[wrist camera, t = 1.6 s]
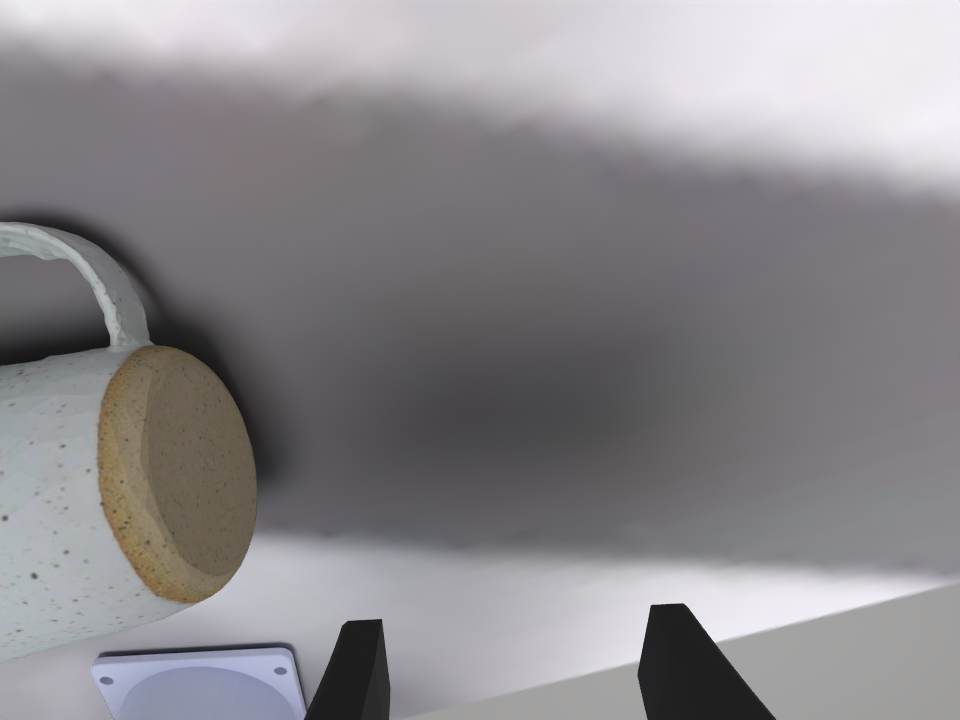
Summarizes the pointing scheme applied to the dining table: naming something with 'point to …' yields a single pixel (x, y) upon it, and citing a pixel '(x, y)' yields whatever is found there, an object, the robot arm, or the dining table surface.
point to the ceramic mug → (113, 473)
